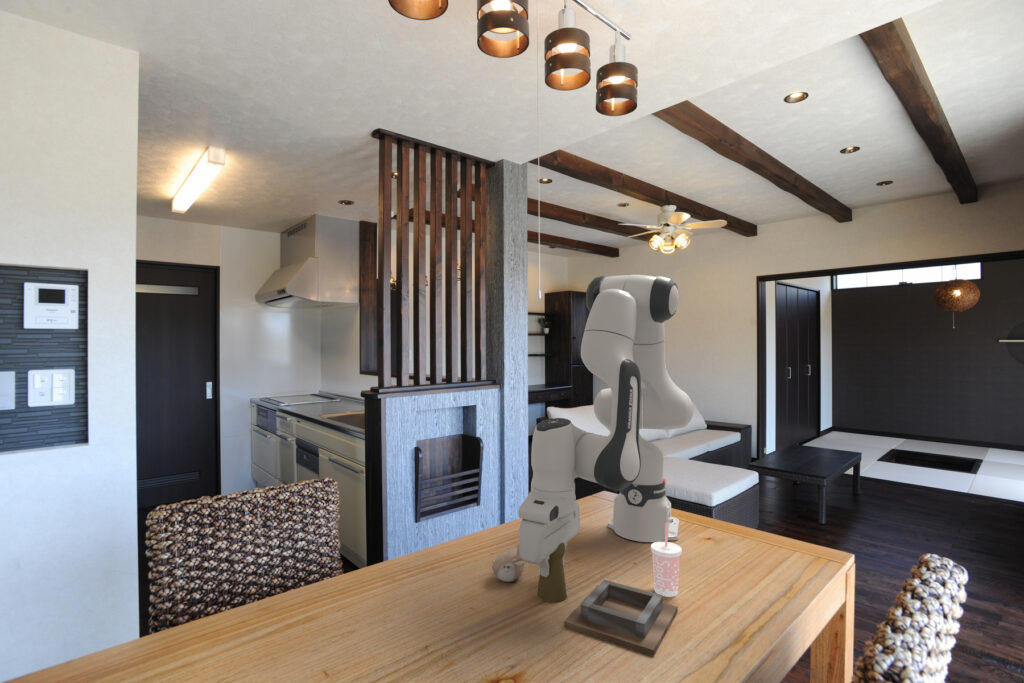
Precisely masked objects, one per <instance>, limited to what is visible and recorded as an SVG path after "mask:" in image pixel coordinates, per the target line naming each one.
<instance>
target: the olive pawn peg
mask: <svg viewBox="0 0 1024 683" xmlns="http://www.w3.org/2000/svg"><path fill="white" fill-rule="evenodd" d="M564 554H566V551H565V544H564V543H563V542H562V543H560V544H559V546H558V547H557V549H556V551H554V552H553V553H552V554H550V555H549V560H548V563H549V565H551V574H550V575H548V576H547V577H544V576H541V575H540V574H539V577H538V584H537V592H536V596H537V598H538V599H540V601H544V602H545V603H560V602H563V601H565V600H566V599H567V597H568V595H567V585H566V577H565V568H564V563H563V558H562V557H563V556H564V557H565V555H564Z"/></svg>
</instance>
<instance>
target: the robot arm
mask: <svg viewBox="0 0 1024 683" xmlns="http://www.w3.org/2000/svg"><path fill="white" fill-rule="evenodd" d="M679 295H680V294H679V289H678V286H677V284H676V282H675V281H674V280H673V278H669V277H666V276H662V275H658V276H655V275H648V274H647V275H645V274H630V275H629V274H627V275H626V274H625V275H624V274H622V275H600V276H597V277H595V278H593V279H592V280H591V281H590V283H589V284H588V286H587V288H586V293H585V305H586V308H587V309H588V311H589V314H588V317H587V320H586V323H585V327H584V331H583V336H582V340H581V345H580V358H581V361H582V363H583V364H584V366H585V367H586V369H587V370H588V371H589V372H590V373H591V374H593V375H594V376H596V377H597V378H598V379H600V380H602V381H603V382H604V383H606V384H607V385H608V388H603V389H601V390H600V391H599V392H598V393H597V394H596V396H595V398H594V402H593V412H594V414H595V418H596V419H597V420H598V422H599V423H600V424H602V425H603V427H605V428H606V429H607V430H608V431H609V432H610V433H609V434H608V435H602V434H597V433H594V432H590V431H586V430H583V429H581V428H579V427H577V426H576V425H574V424H573V423H572V421H571V420H570V419H568V418H563V417H553V418H547V419H544V420H541V421H540V422H539V423H537V424H536V425H535V428H534V431H533V433H532V434H533V435H532V442H531V454H530V456H531V457H530V458H531V461H530V462H531V464H530V465H531V468H532V479H531V483H530V491H529V492H528V495H527V497H526V498H525V499H524V501H523V502H522V503H521V504H520V506H519V507H518V512H517V513H518V518H519V519H521V521H520V523H519V528H518V529H519V530H518V545H519V552H520V557H521V559H522V560H523V561H524V563H528V564H532V565H538V566H539V576H540V575H541V576H544V577H547V576H548V575H550V574H551V565H549V563H548V560H549V555H550V554H552V553H553V552H554V551H556V549H557V547H558V546H559V544H560V543H562V542H563V543H564V544H565V552H567V547H568V542H569V541H570V540H571V539H573V538H574V537H575V536H577V535H578V534H579V532H580V530H581V511H580V504H579V502H578V500H577V499H576V483H575V479H577V478H580V479H583V480H586V481H589V482H593V483H596V484H598V485H600V486H602V487H605V488H606V489H609V490H611V491H614V492H619V493H618V494H616V496H615V497H614V498H613V510H612V520H609V521H607V527H608V528H610V529H612V530H613V531H614V532H615V534H616V535H618V536H620V537H622V538H624V539H626V540H630V541H633V542H634V541H635V542H640V543H641V542H642V543H654V542H665V522H667V523H668V538H667V541H677V540H678V539H679V530H680V519H679V518H677V517H675V516H672V502H671V501H670V500H669V498H668V497H667V495H666V494H667V491H666V484H667V480H666V478H665V477H664V454H663V451H662V450H661V449H660V447H659V446H657V445H656V444H654V443H653V442H651V441H649V440H647V439H646V438H644V437H642V435H641V433H640V430H642V429H646V430H663V431H665V430H676V429H684V428H686V426H688V425H689V424H690V422H691V421H692V418H693V415H694V406H693V402H692V400H691V397H690V396H689V395H688V394H687V393H686V392H685V391H684V390H682V389H681V388H680V387H679V386H678V385H677V384H675V382H674V381H673V379H672V378H671V376H670V374H669V372H668V369H667V365H666V364H667V362H666V329H665V328H666V327H665V322H666V321H669V320H670V319H671V318H672V317H673V316H674V315H675V314H676V312H677V309H678V306H679V302H680V296H679ZM642 383H643V385H644V386H643V387H642ZM565 554H566V553H565ZM565 554H564V556H563V557H562V558H563V564H564V562H565Z"/></svg>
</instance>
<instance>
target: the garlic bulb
mask: <svg viewBox="0 0 1024 683" xmlns="http://www.w3.org/2000/svg"><path fill="white" fill-rule="evenodd" d="M524 568H525V562H524V561H523V560H522V559H521V557H520V552H519V544H517V546H516V547H515V548H513V549H507V550H506V551H502V552H501V553H500V554H498V555H497V556H496V557H494V560H493V562H492V571H493V575H494V576H495V577H496V578H497V579H498V580H500V581H503V582H505V583H506V582H507V583H508V582H513V581H515V580H516V579H518V578H519V577H521V576H522V573H523V571H524Z"/></svg>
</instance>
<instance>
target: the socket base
mask: <svg viewBox="0 0 1024 683" xmlns="http://www.w3.org/2000/svg"><path fill="white" fill-rule="evenodd" d="M678 607H679V606H676V605H673V604H669V603H666V602H664V596H663V595H660V594H657V593H656V592H652V591H648V590H645V589H640V588H637V587H632V586H629V585H625V584H622V583H619V582H614V581H611V580H607V579H603V581H601V582H600V584H597V585H596V586H595V587H594V588H593V589H592V590H591V591H590V592H589V594H588V595H587V596H586V597H585V598H584V599H583V600H582V601H581V602H580V603H579V605H578V606H576V608H575V609H573V611H572V612H571V613H570V614H569V615H568V616H567V617H566V619H564V620H563V627H565V628H567V629H571V630H574V631H576V632H579V633H582V634H584V635H588V636H591V637H595V638H597V639H600V640H604V641H605V642H609V643H612V644H615V645H618V646H621V647H624V648H628V649H630V650H633V651H636V652H639V653H642V654H645V655H648V656H651V657H655V655H656V653H657V651H658V649H659V647H660V646H661V643H662V642H663V640H664V638H665V637H666V634H667V632H668V631H669V630H670V627H671V626H672V624H673V621H674V620H675V618H676V616H677V614H678V611H679V610H678V609H679V608H678Z"/></svg>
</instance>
